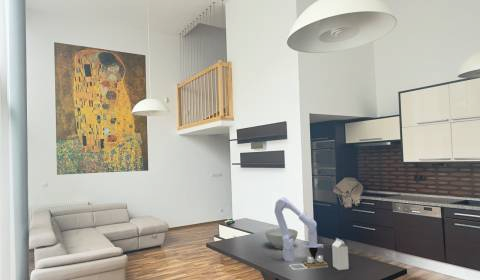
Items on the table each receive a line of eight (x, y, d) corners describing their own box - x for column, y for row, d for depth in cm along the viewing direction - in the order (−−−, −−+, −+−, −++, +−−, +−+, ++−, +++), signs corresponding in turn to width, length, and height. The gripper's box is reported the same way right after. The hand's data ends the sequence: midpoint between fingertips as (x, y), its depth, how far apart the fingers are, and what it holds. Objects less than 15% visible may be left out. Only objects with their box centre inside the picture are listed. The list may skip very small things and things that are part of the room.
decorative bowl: (258, 247, 253) (258, 232, 254) (277, 240, 273) (277, 226, 274) (286, 253, 235) (285, 237, 236) (304, 245, 255) (303, 230, 256)
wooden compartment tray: (303, 266, 205) (302, 261, 205) (323, 264, 208) (322, 259, 208) (307, 270, 198) (307, 265, 198) (328, 268, 200) (328, 263, 201)
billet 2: (315, 264, 205) (315, 254, 206) (321, 264, 206) (321, 254, 206) (318, 266, 201) (318, 256, 202) (324, 266, 202) (323, 256, 202)
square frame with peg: (307, 262, 213) (307, 258, 213) (315, 261, 214) (315, 257, 214) (311, 265, 207) (311, 261, 207) (320, 264, 208) (319, 260, 208)
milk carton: (338, 271, 194) (337, 241, 195) (333, 268, 201) (331, 238, 202) (348, 270, 196) (347, 240, 197) (342, 267, 203) (341, 237, 204)
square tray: (288, 267, 205) (288, 264, 205) (301, 265, 207) (301, 263, 207) (293, 271, 196) (293, 269, 196) (307, 270, 198) (306, 268, 198)
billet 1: (306, 265, 204) (306, 255, 204) (312, 265, 204) (311, 255, 205) (308, 267, 200) (308, 257, 200) (314, 267, 200) (314, 257, 201)
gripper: (305, 240, 206) (305, 261, 205) (325, 239, 209) (326, 259, 208) (300, 238, 213) (301, 258, 212) (320, 236, 216) (321, 256, 215)
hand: (313, 258), depth 211 cm, fingers closed, pressing on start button
